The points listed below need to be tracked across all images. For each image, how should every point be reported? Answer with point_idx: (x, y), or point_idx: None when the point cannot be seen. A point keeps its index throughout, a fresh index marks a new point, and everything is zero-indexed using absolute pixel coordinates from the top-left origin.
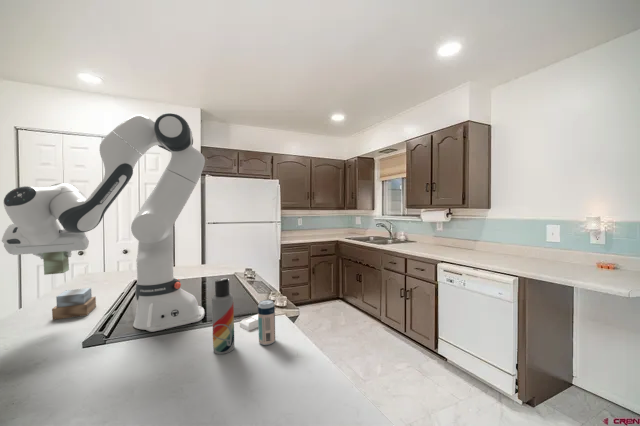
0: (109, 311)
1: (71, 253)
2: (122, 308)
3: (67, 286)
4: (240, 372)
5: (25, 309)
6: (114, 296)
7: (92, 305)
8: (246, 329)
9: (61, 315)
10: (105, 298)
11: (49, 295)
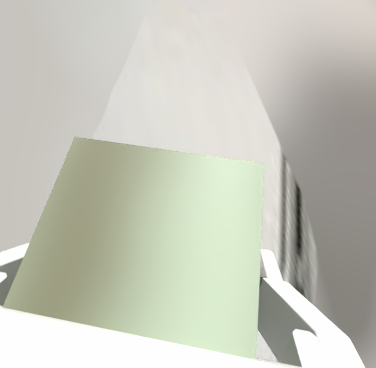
0: (285, 255)
1: (271, 254)
2: (314, 248)
3: (159, 8)
4: None
5: (103, 122)
6: (269, 129)
7: None
8: None
9: None
10: (252, 133)
11: (135, 50)
